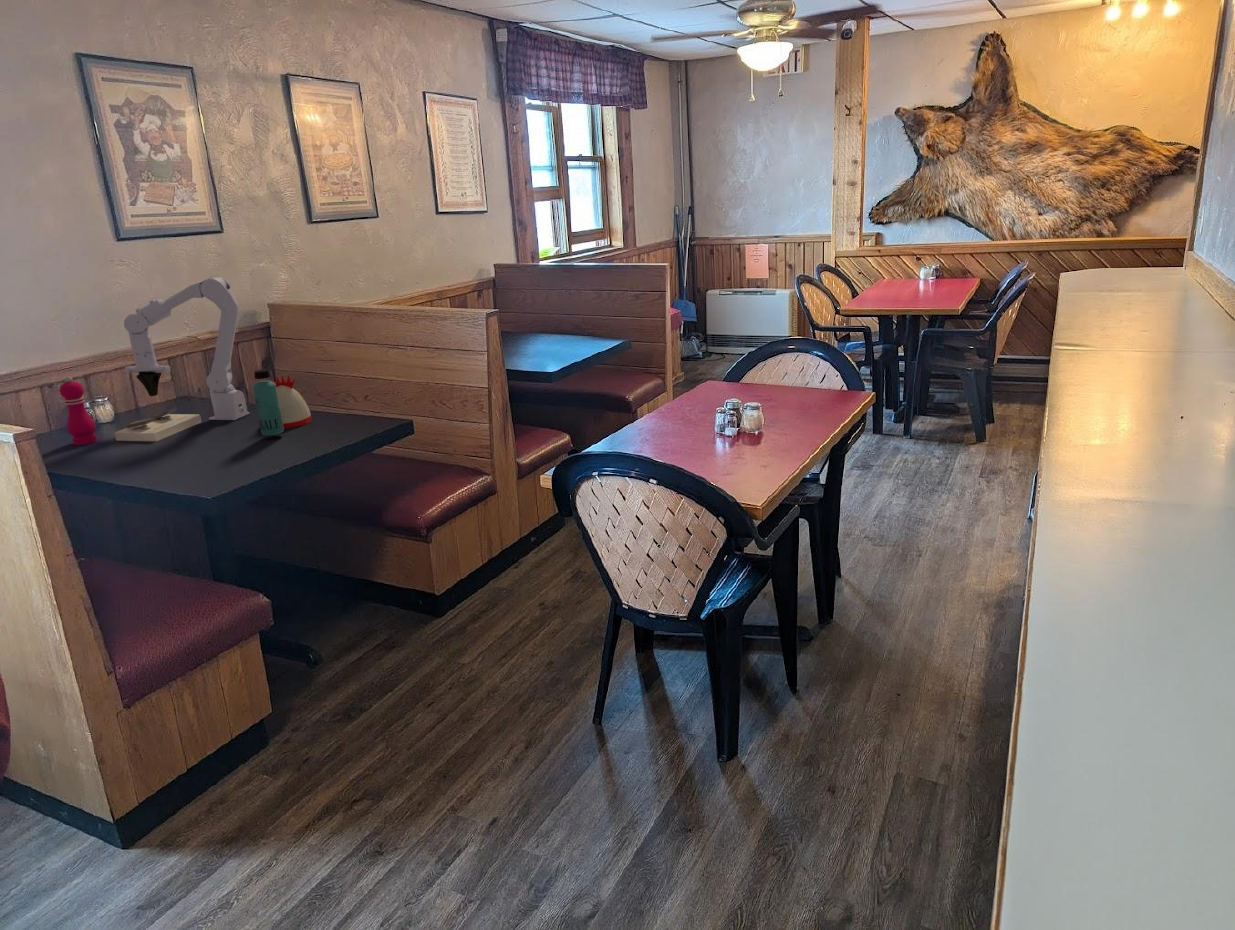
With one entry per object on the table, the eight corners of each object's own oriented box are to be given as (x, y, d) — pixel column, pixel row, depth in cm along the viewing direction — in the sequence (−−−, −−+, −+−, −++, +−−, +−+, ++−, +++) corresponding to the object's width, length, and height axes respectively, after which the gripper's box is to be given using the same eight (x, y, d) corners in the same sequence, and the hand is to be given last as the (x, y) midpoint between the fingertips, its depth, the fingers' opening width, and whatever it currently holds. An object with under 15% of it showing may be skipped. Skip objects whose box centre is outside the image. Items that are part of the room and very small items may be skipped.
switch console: (201, 422, 269) (199, 412, 268) (156, 441, 251) (154, 431, 250) (163, 421, 272) (161, 412, 271) (116, 440, 254) (113, 430, 253)
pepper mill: (86, 446, 250) (68, 379, 243) (65, 445, 251) (47, 379, 245) (105, 438, 257) (88, 373, 250) (84, 438, 258) (67, 373, 252)
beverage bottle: (278, 432, 253) (265, 366, 247) (290, 436, 249) (277, 368, 243) (257, 438, 248) (244, 371, 242) (269, 441, 244) (256, 373, 238)
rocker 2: (177, 409, 266) (176, 406, 266) (169, 413, 262) (167, 410, 262) (161, 417, 268) (159, 413, 268) (152, 420, 265) (150, 417, 264)
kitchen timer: (311, 425, 259) (302, 377, 254) (262, 431, 255) (253, 382, 251) (311, 414, 272) (303, 368, 267) (265, 420, 268) (256, 373, 263)
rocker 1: (155, 420, 257) (154, 416, 257) (146, 424, 253) (144, 420, 253) (137, 424, 259) (135, 421, 259) (127, 428, 255) (126, 425, 255)
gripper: (173, 349, 264) (182, 392, 268) (132, 350, 267) (142, 392, 271) (157, 354, 257) (167, 398, 262) (116, 354, 260) (126, 397, 265)
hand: (153, 395), depth 266 cm, fingers closed
